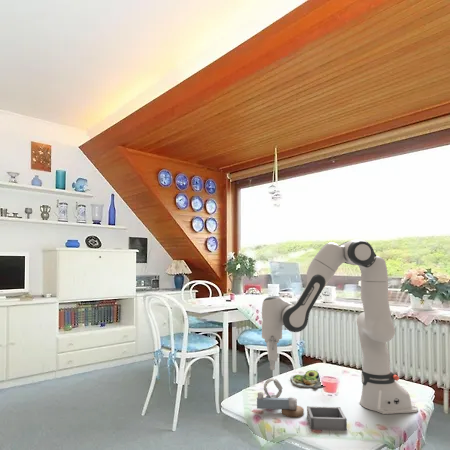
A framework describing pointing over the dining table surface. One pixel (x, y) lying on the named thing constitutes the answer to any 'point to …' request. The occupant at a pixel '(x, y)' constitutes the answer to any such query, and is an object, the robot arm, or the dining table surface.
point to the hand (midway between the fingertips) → (271, 366)
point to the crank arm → (276, 403)
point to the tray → (326, 418)
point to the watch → (275, 385)
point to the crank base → (293, 412)
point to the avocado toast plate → (307, 379)
